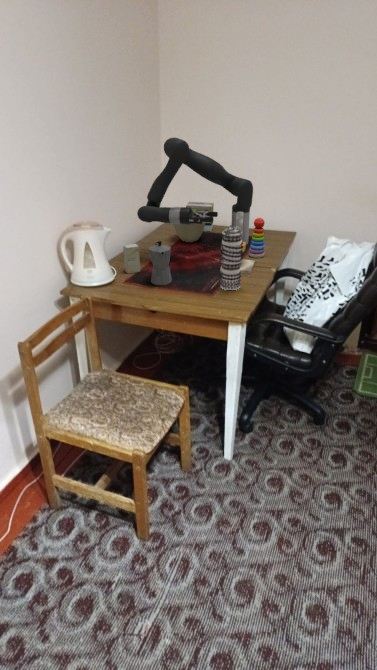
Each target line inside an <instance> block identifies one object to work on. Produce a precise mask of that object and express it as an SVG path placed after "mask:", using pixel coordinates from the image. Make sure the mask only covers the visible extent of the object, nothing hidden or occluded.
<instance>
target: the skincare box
mask: <svg viewBox="0 0 377 670" xmlns="http://www.w3.org/2000/svg"><path fill="white" fill-rule="evenodd" d="M122 246H123V247H122V248H123V262H124V271H125V272H126V273H127V274H133V273H134V274H135V273H139V272H141V263H140V262H141V260H140V257H141V256H140V246H139V245H138V244H137V243H132V244H124V245H122Z"/></svg>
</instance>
